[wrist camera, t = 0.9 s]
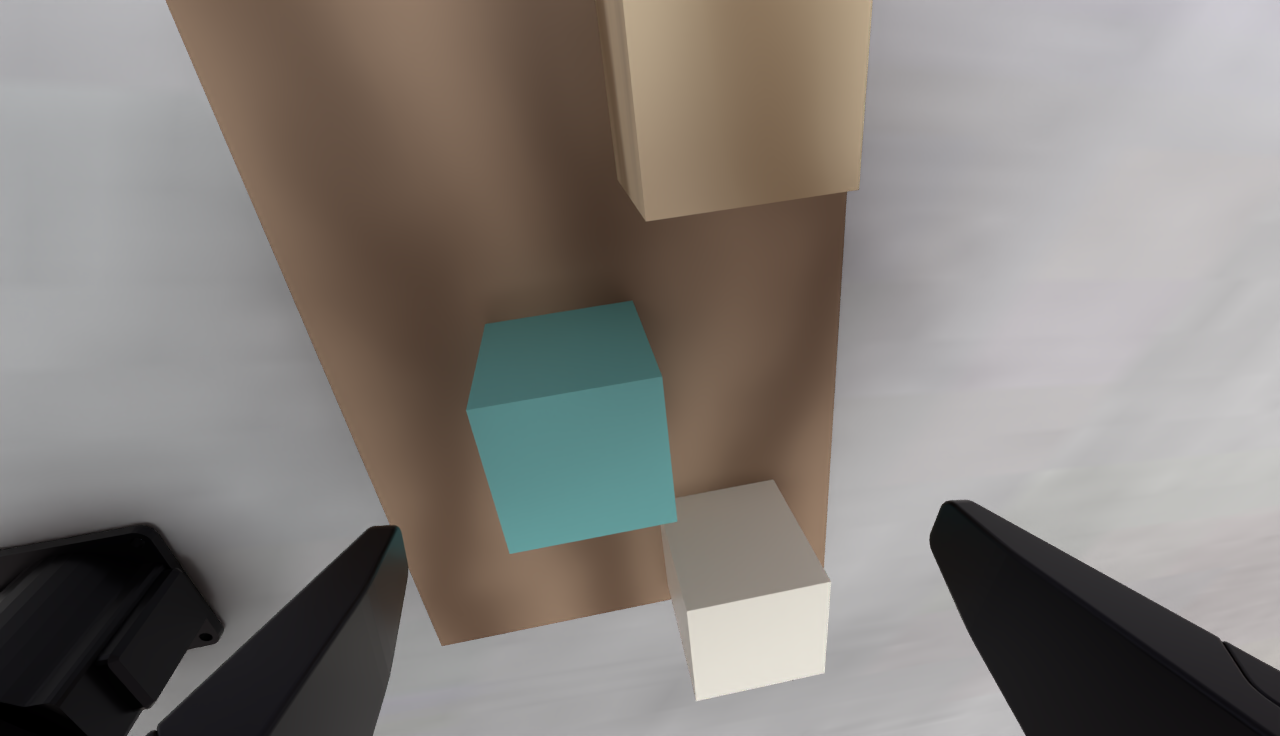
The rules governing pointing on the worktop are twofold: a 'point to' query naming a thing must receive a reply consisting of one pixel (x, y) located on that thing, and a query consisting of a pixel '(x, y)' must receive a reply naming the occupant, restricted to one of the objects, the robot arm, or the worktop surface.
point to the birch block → (734, 100)
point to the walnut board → (509, 272)
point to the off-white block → (745, 590)
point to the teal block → (572, 426)
